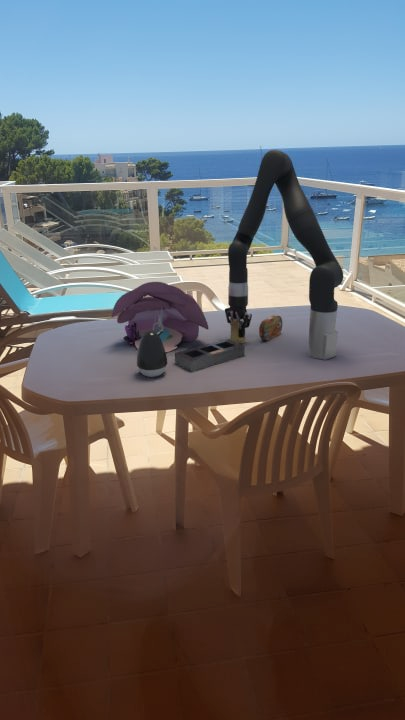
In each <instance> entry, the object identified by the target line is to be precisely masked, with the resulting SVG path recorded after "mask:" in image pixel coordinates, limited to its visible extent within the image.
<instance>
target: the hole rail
mask: <svg viewBox="0 0 405 720" xmlns="http://www.w3.org/2000/svg"><path fill="white" fill-rule="evenodd" d="M245 346H246V345H243V343H241V344H239V343H237V342H234V341H232V340H231V339H228V338H225V339H220V340H218V341H214V342H213V341H212V342H211V343H206V344H203V345H199V346H196V347H192V348H188V349H185V350H181V351H178V352H174V363H175V365H178V367H181V368H182V369H184V370H187V371H188V372H190V373H193V372H195V371H199V370H203V369H206V368H209V367H213V366H216V365H219V364H222V363H226V362H229V361H232V360H235V359H238V358H242V357H245V353H246V352H245V349H246V348H245Z"/></svg>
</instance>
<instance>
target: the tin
mask: <svg viewBox="0 0 405 720" xmlns="http://www.w3.org/2000/svg"><path fill="white" fill-rule="evenodd" d="M282 330H283V318H282V317H281V316H280V315H275V314H274V315H270V317H267V318H265V319H263V320H261V322H260V324H259V327H258V332H259V334H258V335H259V338H260V339H261V340H262V341H267V342H269V341H271V340H273V339H274V338H276V337H278V336H279V335H280V334H281V333H282Z"/></svg>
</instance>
